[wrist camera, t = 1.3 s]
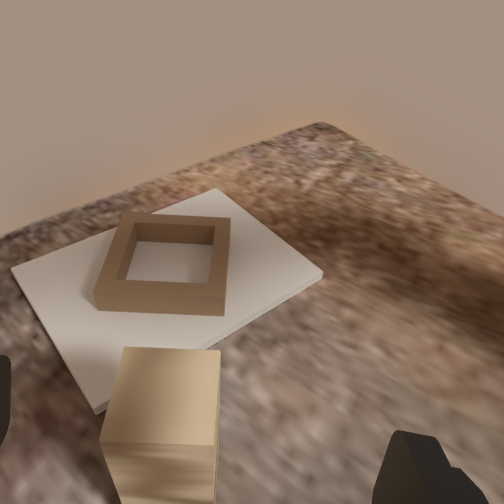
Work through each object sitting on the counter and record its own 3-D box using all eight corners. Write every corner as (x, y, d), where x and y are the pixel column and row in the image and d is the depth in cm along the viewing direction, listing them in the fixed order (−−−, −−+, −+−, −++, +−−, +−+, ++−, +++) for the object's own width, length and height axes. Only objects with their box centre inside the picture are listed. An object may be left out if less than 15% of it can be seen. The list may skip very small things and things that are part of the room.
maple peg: (218, 452, 31) (220, 350, 23) (213, 533, 27) (213, 445, 19) (147, 449, 31) (124, 346, 23) (132, 531, 27) (98, 441, 19)
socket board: (216, 194, 55) (216, 170, 52) (321, 278, 45) (327, 252, 42) (13, 275, 42) (1, 248, 40) (95, 415, 33) (86, 390, 30)
